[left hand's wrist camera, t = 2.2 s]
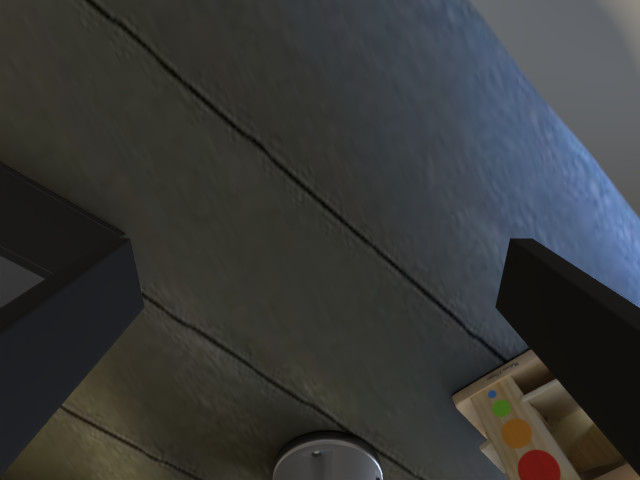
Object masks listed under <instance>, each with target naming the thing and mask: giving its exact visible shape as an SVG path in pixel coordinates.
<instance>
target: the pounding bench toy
mask: <svg viewBox="0 0 640 480" xmlns="http://www.w3.org/2000/svg"><path fill="white" fill-rule="evenodd" d="M452 399H453V401H454V404H455V406H456V408H457V409H458V410H459V411H460V412H461V413H462V414H463V415H464V416H465V417H466V418H467V419H468V420H469V421H470V422H471V423H472V424H473V425H474V426H475V427H476V428H477V429H478V430H479V431H480V432H481V434H482V435H483V436H484V437H485V438H486V439H487V441H486V442H484V443H483V444H482V445H481V446H480V447H479V448H480V450H481V451H482V452H483V453H484V454H485V455H486V456H487V457H488V458H489V459H490V460H491V461H492V462H493V463H494V464H495V465H496V466H497V467H498V468H499V469H500V470H501V471H502V472H503V473H504V474H505V475H506V478H507V480H640V476H639V475H638V474H637V473H636V472H635V471H634V469H633V468H632V467H631V466H630V465H629V464H628V462H627V461H626V460H625V459H624V458H623V456H622V455H621V454H620V453H619V452H618V451H617V449H616V448H615V447H614V446H613V445H612V444H611V442H610V441H609V440H608V439H607V438H606V436H605V435H604V434H603V433H602V432H601V431H600V429H599V428H598V427H597V426H596V425H595V424H594V422H593V421H592V420H591V419H590V418H589V417H588V415H587V414H586V413H585V412H584V411H583V409H582V408H581V407H580V406H579V405H578V404H577V402H576V401H575V400H574V399H573V398H572V397H571V395H570V394H569V393H568V392H567V391H566V389H565V388H564V387H563V386H562V385H561V384H560V382H559V381H558V380H557V379H556V378H555V377H554V375H553V374H552V373H551V372H550V371H549V370H548V368H547V367H546V366H545V365H544V364H543V362H542V361H541V360H540V359H539V358H538V357H537V355H536V354H535V353H534V352H533V351H532V350H529V351H527V352H525V353H524V354H522V355H520V356H519V357H517V358H515V359H513V360H512V361H510V362H508V363H507V364H505V365H503V366H501V367H500V368H498V369H496V370H495V371H493V372H491V373H490V374H488V375H486V376H484V377H483V378H481V379H479V380H478V381H476V382H474V383H473V384H471V385H469V386H468V387H466V388H464V389H462V390H461V391H459V392H457V393H456V394H454V395H453V396H452Z"/></svg>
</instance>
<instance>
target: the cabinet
mask: <svg viewBox="0 0 640 480" xmlns="http://www.w3.org/2000/svg"><path fill="white" fill-rule="evenodd" d="M124 236H125V233H123V232H121V231H119V230H118V229H116V228H114V227H112V226H111V225H109V224H107V223H105V222H104V221H102V220H100V219H98V218H97V217H95V216H93V215H91V214H90V213H88V212H86V211H84V210H83V209H81V208H79V207H77V206H76V205H74V204H72V203H70V202H69V201H67V200H65V199H63V198H62V197H60V196H58V195H57V194H55V193H53V192H51V191H50V190H48V189H46V188H44V187H43V186H41V185H39V184H37V183H36V182H34V181H32V180H30V179H29V178H27V177H25V176H23V175H22V174H20V173H18V172H16V171H15V170H13V169H11V168H9V167H8V166H6V165H4V164H2V163H1V162H0V308H1V307H3V306H4V305H6V304H7V303H9V302H10V301H12V300H13V299H15V298H17V297H18V296H20V295H21V294H23V293H24V292H26V291H27V290H29V289H30V288H32V287H34V286H35V285H37V284H38V283H40V282H41V281H43V280H44V279H46V278H47V277H49V276H51V275H52V274H54V273H55V272H57V271H58V270H60V269H61V268H63V267H64V266H66V265H68V264H69V263H71V262H72V261H74V260H75V259H77V258H78V257H80V256H81V255H83V254H85V253H86V252H88V251H89V250H91V249H92V248H94V247H95V246H97V245H98V244H100V243H102V242H103V241H105V240H106V239H123V238H124Z"/></svg>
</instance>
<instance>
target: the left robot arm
mask: <svg viewBox="0 0 640 480" xmlns="http://www.w3.org/2000/svg"><path fill="white" fill-rule="evenodd" d="M143 308H144V302H143V298H142V293H141V288H140V284H139V279H138V274H137V270H136V265H135V261H134V256H133V251H132V247H131V242H130V239H106V240H105V241H103V242H102V243H100V244H98V245H97V246H95V247H94V248H92V249H91V250H89V251H88V252H86V253H85V254H83V255H81V256H80V257H78V258H77V259H75V260H74V261H72V262H71V263H69V264H68V265H66V266H64V267H63V268H61V269H60V270H58V271H57V272H55V273H54V274H52V275H51V276H49V277H47V278H46V279H44V280H43V281H41V282H40V283H38V284H37V285H35V286H34V287H32V288H30V289H29V290H27V291H26V292H24V293H23V294H21V295H20V296H18V297H17V298H15V299H13V300H12V301H10V302H9V303H7V304H6V305H4V306H3V307H1V308H0V476H1V475H2V474H3V473H4V472H5V471H6V469H7V468H8V467H9V466H10V465H11V464H12V462H13V461H14V460H15V459H16V458H17V456H18V455H19V454H20V453H21V452H22V451H23V449H24V448H25V447H26V446H27V445H28V444H29V442H30V441H31V440H32V439H33V438H34V436H35V435H36V434H37V433H38V432H39V431H40V429H41V428H42V427H43V426H44V425H45V424H46V422H47V421H48V420H49V419H50V418H51V417H52V415H53V414H54V413H55V412H56V411H57V409H58V408H59V407H60V406H61V405H62V404H63V402H64V401H65V400H66V399H67V398H68V397H69V395H70V394H71V393H72V392H73V391H74V389H75V388H76V387H77V386H78V385H79V384H80V382H81V381H82V380H83V379H84V378H85V377H86V375H87V374H88V373H89V372H90V371H91V370H92V368H93V367H94V366H95V365H96V364H97V362H98V361H99V360H100V359H101V358H102V357H103V355H104V354H105V353H106V352H107V351H108V350H109V348H110V347H111V346H112V345H113V344H114V342H115V341H116V340H117V339H118V338H119V337H120V335H121V334H122V333H123V332H124V331H125V330H126V328H127V327H128V326H129V325H130V324H131V323H132V321H133V320H134V319H135V318H136V317H137V315H138V314H139V313H140V312H141V311H142V310H143ZM496 308H497V310H498V311H499V312H500V313H501V314H502V315H503V317H504V318H505V319H506V320H507V321H508V323H509V324H510V325H511V326H512V327H513V328H514V330H515V331H516V332H517V333H518V334H519V335H520V337H521V338H522V339H523V340H524V341H525V342H526V344H527V345H528V346H529V347H530V348H531V350H532V351H533V352H534V353H535V354H536V355H537V357H538V358H539V359H540V360H541V361H542V362H543V364H544V365H545V366H546V367H547V368H548V370H549V371H550V372H551V373H552V374H553V375H554V377H555V378H556V379H557V380H558V381H559V382H560V384H561V385H562V386H563V387H564V388H565V389H566V391H567V392H568V393H569V394H570V395H571V397H572V398H573V399H574V400H575V401H576V402H577V404H578V405H579V406H580V407H581V408H582V409H583V411H584V412H585V413H586V414H587V415H588V417H589V418H590V419H591V420H592V421H593V422H594V424H595V425H596V426H597V427H598V428H599V429H600V431H601V432H602V433H603V434H604V435H605V436H606V438H607V439H608V440H609V441H610V442H611V444H612V445H613V446H614V447H615V448H616V449H617V451H618V452H619V453H620V454H621V455H622V456H623V458H624V459H625V460H626V461H627V462H628V464H629V465H630V466H631V467H632V468H633V469H634V471H635V472H636V473H637V474H638V475H639V476H640V308H639V307H637V306H636V305H634V304H633V303H631V302H630V301H628V300H627V299H625V298H623V297H622V296H620V295H619V294H617V293H616V292H614V291H613V290H611V289H610V288H608V287H606V286H605V285H603V284H602V283H600V282H599V281H597V280H596V279H594V278H593V277H591V276H589V275H588V274H586V273H585V272H583V271H582V270H580V269H579V268H577V267H576V266H574V265H572V264H571V263H569V262H568V261H566V260H565V259H563V258H562V257H560V256H559V255H557V254H555V253H554V252H552V251H551V250H549V249H548V248H546V247H545V246H543V245H542V244H540V243H538V242H537V241H535V240H534V239H510V242H509V247H508V251H507V256H506V261H505V265H504V270H503V274H502V279H501V284H500V288H499V293H498V298H497V302H496ZM273 480H383V477H382V471H381V465H380V460H379V458H378V456H377V454H376V452H375V451H374V450H373V448H372V447H370V446H369V445H368V444H367V443H366V442H364V441H363V440H361V439H359V438H357V437H354V436H352V435H349V434H345V433H339V432H316V433H311V434H307V435H304V436H301V437H299V438H297V439H295V440H293V441H291V442H290V443H288V444H287V445H286V446H285V447H284V448H283V449H282V450H281V451H280V453H279V454H278V456H277V458H276V460H275V465H274V473H273Z"/></svg>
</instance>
